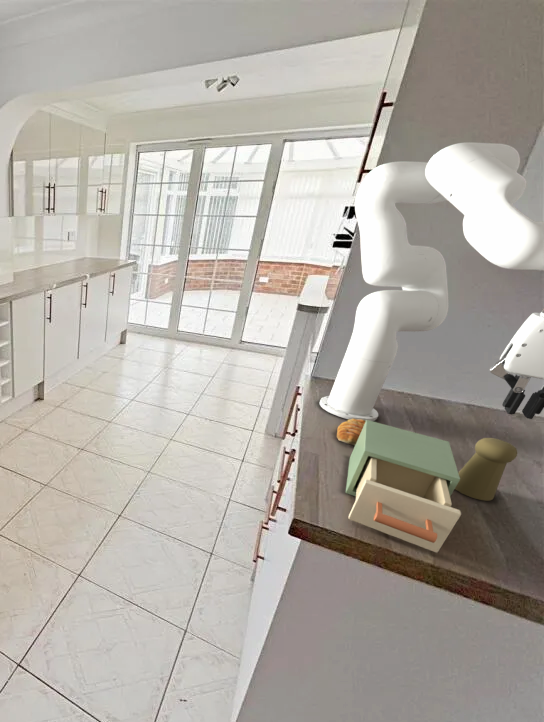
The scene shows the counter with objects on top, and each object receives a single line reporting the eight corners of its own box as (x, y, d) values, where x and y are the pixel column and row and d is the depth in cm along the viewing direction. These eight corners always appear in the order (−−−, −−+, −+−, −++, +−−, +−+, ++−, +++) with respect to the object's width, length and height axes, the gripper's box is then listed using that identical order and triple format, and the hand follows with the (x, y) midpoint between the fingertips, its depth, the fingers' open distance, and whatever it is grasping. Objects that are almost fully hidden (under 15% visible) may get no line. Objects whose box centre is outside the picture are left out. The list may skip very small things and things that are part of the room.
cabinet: (433, 524, 70) (460, 479, 66) (345, 492, 77) (364, 450, 73) (426, 482, 81) (449, 441, 77) (349, 458, 88) (366, 419, 84)
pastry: (362, 452, 90) (368, 437, 88) (327, 439, 95) (333, 424, 93) (375, 438, 95) (381, 424, 94) (341, 426, 100) (346, 413, 98)
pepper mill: (447, 476, 83) (474, 429, 78) (488, 488, 80) (519, 440, 75) (453, 491, 78) (481, 443, 74) (497, 505, 75) (530, 455, 71)
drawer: (440, 573, 60) (466, 533, 56) (346, 535, 66) (364, 497, 63) (429, 506, 73) (449, 471, 70) (352, 480, 79) (367, 446, 76)
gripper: (649, 316, 62) (577, 420, 70) (504, 298, 71) (454, 393, 79) (675, 326, 57) (594, 438, 65) (514, 306, 66) (459, 407, 73)
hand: (517, 413), depth 72 cm, fingers closed
